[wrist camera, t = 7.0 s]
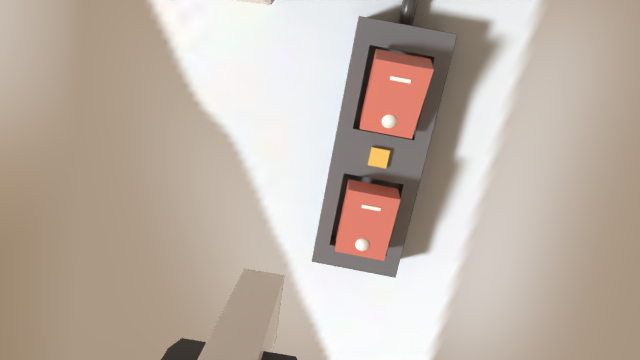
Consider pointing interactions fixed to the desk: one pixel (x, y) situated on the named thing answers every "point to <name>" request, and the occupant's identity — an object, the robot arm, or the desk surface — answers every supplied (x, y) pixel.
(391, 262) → the power strip
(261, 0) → the die
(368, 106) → the rocker
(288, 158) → the desk surface
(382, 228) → the rocker
